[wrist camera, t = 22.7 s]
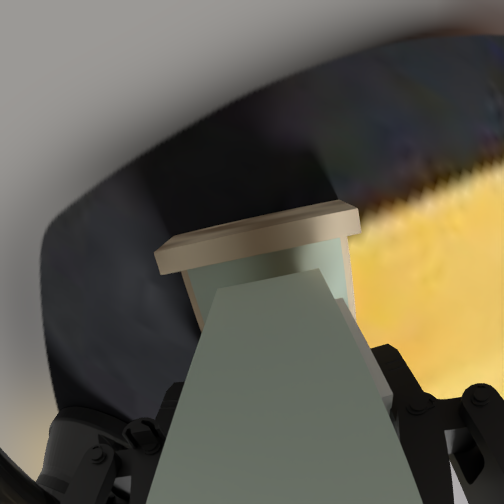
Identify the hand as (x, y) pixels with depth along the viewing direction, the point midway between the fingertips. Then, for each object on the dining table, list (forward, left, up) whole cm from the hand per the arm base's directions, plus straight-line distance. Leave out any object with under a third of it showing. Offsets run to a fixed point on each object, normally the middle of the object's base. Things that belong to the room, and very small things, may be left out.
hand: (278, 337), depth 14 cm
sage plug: (0, 0, -1) cm, 1 cm away
